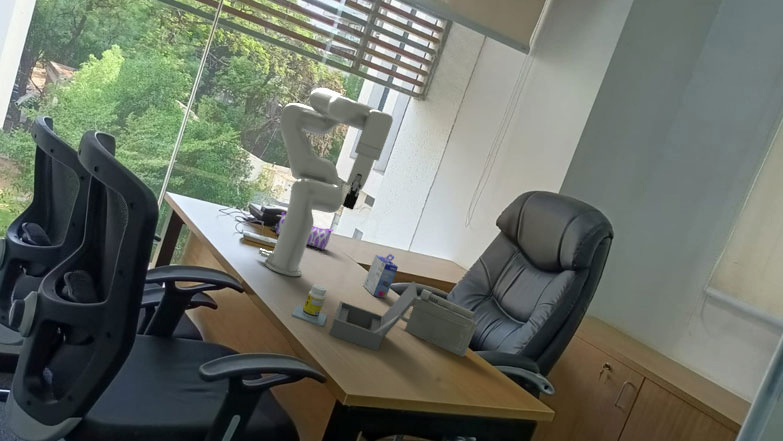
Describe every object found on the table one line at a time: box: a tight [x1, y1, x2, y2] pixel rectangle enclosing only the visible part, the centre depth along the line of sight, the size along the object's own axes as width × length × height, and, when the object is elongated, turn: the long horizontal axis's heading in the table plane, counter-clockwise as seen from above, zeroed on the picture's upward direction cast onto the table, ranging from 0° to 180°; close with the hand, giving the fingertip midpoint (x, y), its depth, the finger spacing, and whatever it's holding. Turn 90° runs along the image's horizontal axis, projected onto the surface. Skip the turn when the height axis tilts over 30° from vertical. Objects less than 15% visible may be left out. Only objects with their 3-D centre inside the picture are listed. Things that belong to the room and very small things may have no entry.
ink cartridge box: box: [362, 253, 398, 300], centre depth 235 cm, size 10×6×14 cm, turn 26°
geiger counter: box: [400, 288, 478, 358], centre depth 204 cm, size 14×6×25 cm
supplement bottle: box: [302, 283, 327, 318], centre depth 186 cm, size 5×5×8 cm
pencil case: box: [274, 211, 334, 251], centre depth 269 cm, size 22×9×10 cm, turn 90°
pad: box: [291, 304, 327, 327], centre depth 187 cm, size 9×9×1 cm
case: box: [329, 281, 418, 352], centre depth 186 cm, size 19×18×17 cm
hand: (348, 205), depth 201 cm, fingers open, 9 cm apart
